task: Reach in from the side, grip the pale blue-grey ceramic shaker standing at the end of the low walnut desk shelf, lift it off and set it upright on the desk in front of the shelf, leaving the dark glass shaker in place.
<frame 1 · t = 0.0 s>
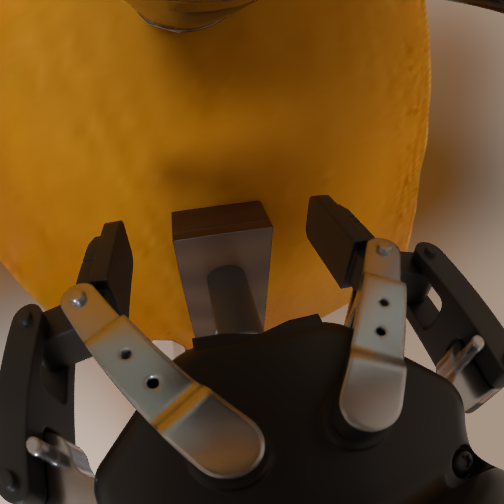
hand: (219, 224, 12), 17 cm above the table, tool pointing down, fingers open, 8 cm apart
mug: (164, 354, 50), on the table
desk shelf: (221, 280, 39), on the table
dark shaker: (226, 279, 32), point 5 cm above the table, touching desk shelf
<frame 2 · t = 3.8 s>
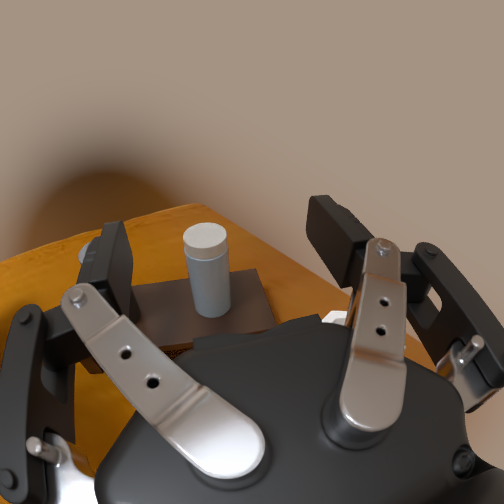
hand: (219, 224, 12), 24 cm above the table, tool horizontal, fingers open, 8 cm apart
desk shelf: (175, 334, 36), on the table
dark shaker: (124, 315, 31), point 5 cm above the table, touching desk shelf
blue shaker: (212, 303, 34), point 5 cm above the table, touching desk shelf
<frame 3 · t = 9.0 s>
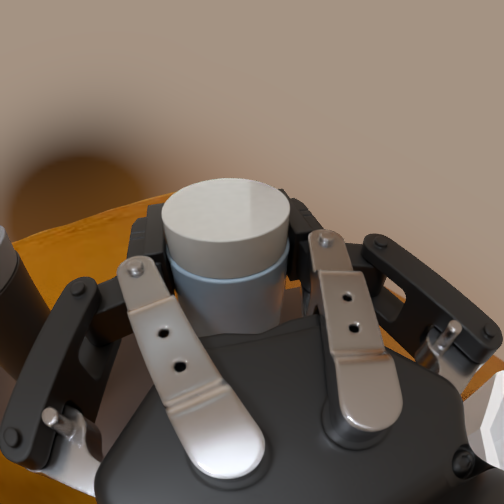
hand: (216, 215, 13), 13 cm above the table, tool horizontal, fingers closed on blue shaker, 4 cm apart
mug: (451, 466, 12), on the table
desk shelf: (163, 407, 17), on the table
dark shaker: (62, 381, 13), point 5 cm above the table, touching desk shelf
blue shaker: (235, 363, 15), point 5 cm above the table, touching desk shelf, gripper
when the fingers open (8 cm above the table, at t = 15.0 s): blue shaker stays where it is, on the table.
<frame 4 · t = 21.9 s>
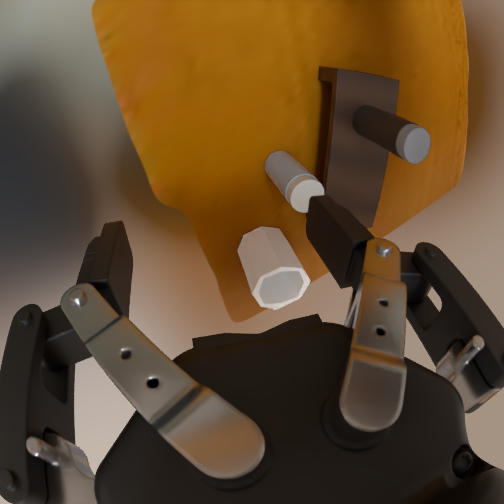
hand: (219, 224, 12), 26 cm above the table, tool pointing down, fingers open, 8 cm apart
mug: (262, 255, 49), on the table
desk shelf: (343, 146, 39), on the table
dark shaker: (366, 120, 32), point 5 cm above the table, touching desk shelf
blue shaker: (279, 165, 39), on the table
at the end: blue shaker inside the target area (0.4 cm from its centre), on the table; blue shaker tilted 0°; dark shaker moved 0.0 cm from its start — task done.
